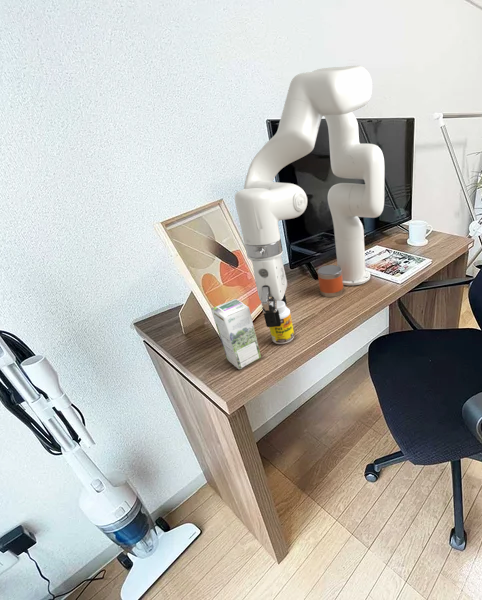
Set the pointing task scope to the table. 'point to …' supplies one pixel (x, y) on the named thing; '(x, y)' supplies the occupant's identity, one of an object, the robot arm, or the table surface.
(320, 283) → the tin can
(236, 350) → the syrup box
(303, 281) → the table surface
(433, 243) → the table surface
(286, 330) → the supplement bottle
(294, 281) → the table surface
